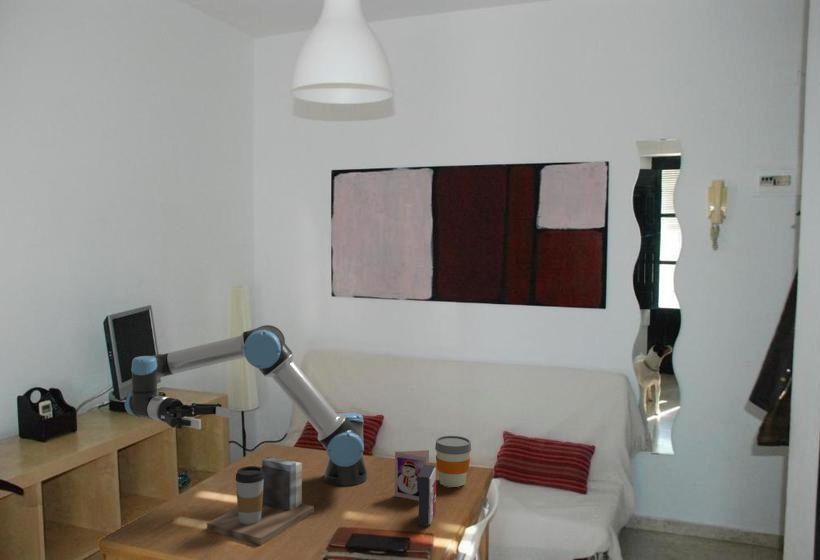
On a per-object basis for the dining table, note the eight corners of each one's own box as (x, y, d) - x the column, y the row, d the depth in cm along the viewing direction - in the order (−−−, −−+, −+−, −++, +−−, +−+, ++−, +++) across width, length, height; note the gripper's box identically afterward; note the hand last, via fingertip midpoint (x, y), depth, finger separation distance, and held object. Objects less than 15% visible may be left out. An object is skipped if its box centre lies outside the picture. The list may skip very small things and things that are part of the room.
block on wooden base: (206, 529, 194) (206, 475, 193) (263, 499, 216) (263, 451, 215) (260, 545, 185) (260, 489, 184) (313, 512, 207) (314, 462, 206)
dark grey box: (430, 527, 198) (431, 477, 197) (416, 525, 199) (417, 476, 198) (436, 512, 209) (437, 465, 208) (423, 510, 210) (423, 464, 209)
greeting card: (393, 496, 221) (393, 452, 220) (403, 489, 227) (403, 446, 226) (424, 503, 216) (425, 457, 215) (433, 495, 222) (434, 451, 221)
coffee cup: (238, 514, 200) (238, 465, 199) (266, 514, 201) (266, 465, 200) (233, 526, 192) (232, 475, 191) (262, 526, 192) (262, 475, 191)
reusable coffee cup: (433, 488, 228) (433, 445, 227) (435, 475, 241) (436, 434, 240) (469, 490, 227) (470, 447, 226) (470, 477, 239) (471, 436, 238)
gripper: (195, 412, 223) (244, 421, 213) (133, 431, 201) (185, 442, 191) (195, 389, 222) (244, 398, 213) (133, 406, 200) (185, 416, 191)
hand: (216, 418), depth 202 cm, fingers open, 13 cm apart
